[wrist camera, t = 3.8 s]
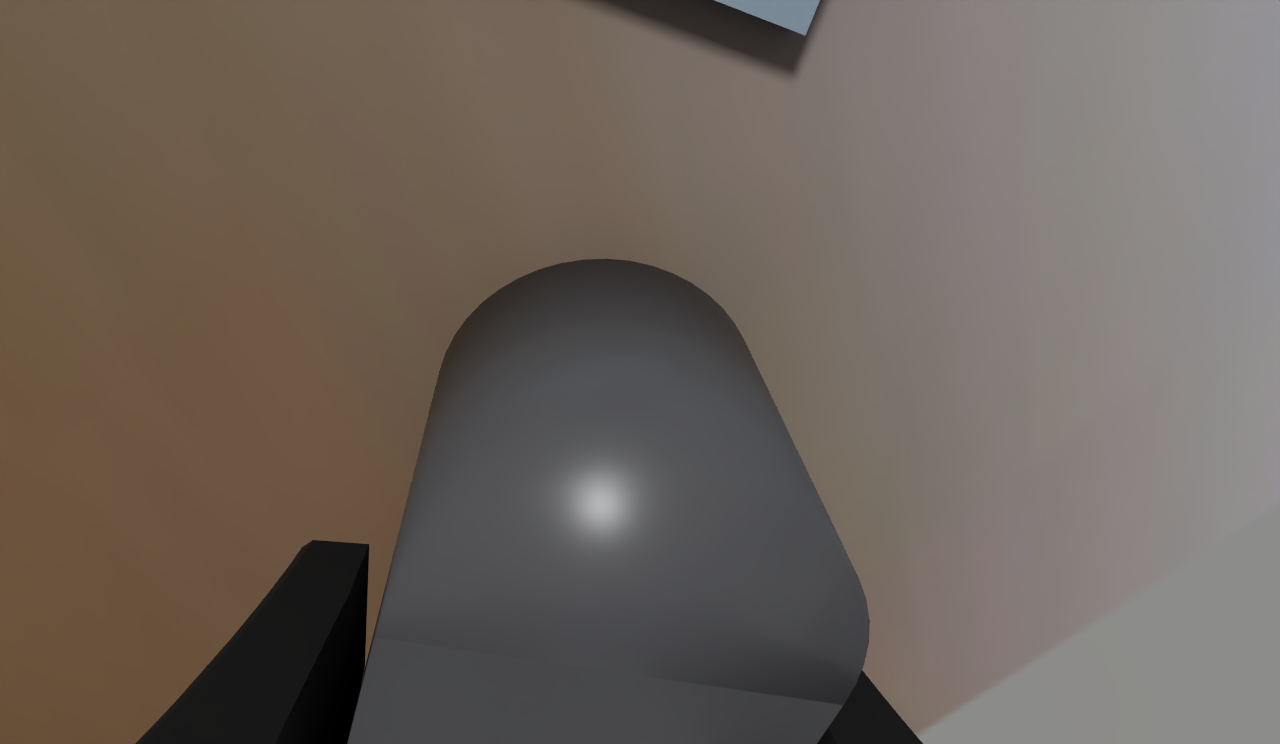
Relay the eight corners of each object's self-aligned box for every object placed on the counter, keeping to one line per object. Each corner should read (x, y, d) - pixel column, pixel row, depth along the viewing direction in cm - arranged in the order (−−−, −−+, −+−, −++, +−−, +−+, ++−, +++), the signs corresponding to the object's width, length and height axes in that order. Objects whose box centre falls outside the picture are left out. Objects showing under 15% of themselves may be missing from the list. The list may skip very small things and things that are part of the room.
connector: (807, 309, 9) (961, 535, 6) (573, 791, 14) (582, 1084, 10) (478, 216, 8) (428, 419, 5) (340, 767, 13) (261, 1082, 9)
